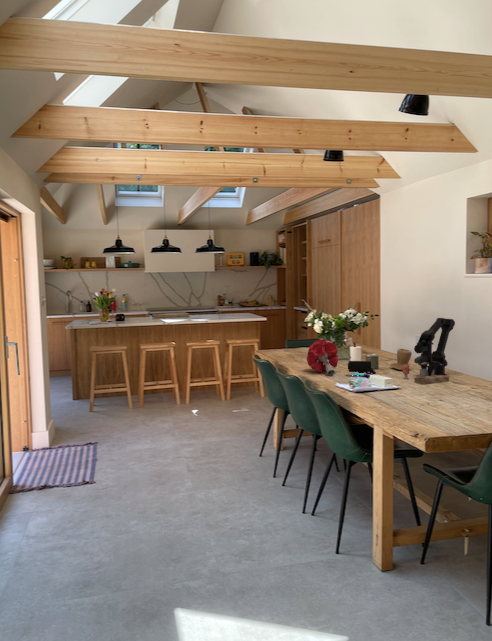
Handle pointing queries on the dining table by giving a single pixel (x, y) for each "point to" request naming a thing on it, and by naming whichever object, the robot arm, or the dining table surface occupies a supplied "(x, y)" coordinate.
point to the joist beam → (431, 379)
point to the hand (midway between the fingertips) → (426, 375)
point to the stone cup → (402, 359)
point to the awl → (405, 371)
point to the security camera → (360, 367)
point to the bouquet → (323, 356)
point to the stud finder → (425, 373)
